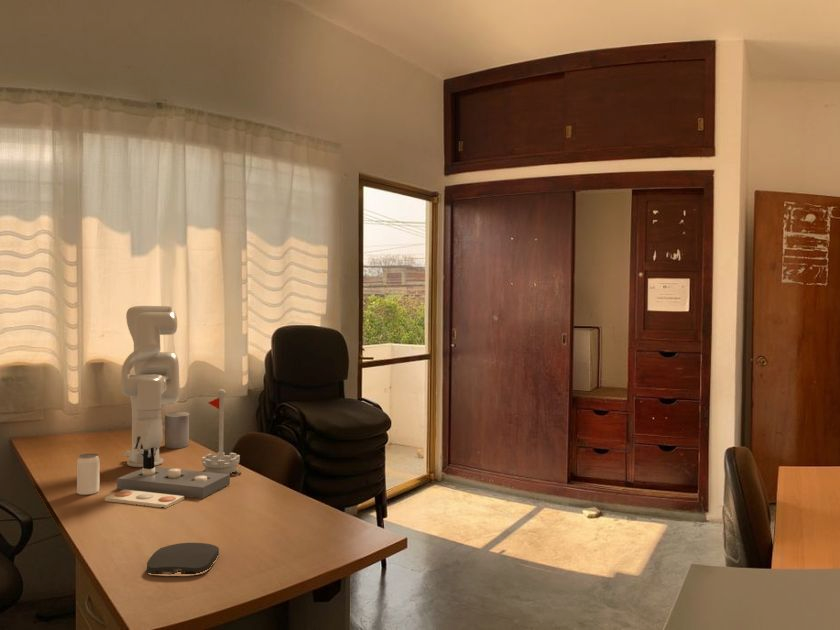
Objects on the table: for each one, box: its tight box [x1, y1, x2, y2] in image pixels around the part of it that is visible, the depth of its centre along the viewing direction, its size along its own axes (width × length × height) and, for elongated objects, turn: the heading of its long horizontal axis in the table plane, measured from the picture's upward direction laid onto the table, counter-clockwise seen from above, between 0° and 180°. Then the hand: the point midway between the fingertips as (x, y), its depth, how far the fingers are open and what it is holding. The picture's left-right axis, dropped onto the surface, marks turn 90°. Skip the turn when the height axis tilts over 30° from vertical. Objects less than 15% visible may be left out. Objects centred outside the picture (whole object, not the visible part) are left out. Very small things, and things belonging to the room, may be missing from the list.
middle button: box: [168, 468, 182, 479], centre depth 219 cm, size 4×4×3 cm
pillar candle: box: [164, 411, 190, 449], centre depth 276 cm, size 10×10×15 cm
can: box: [76, 452, 100, 496], centre depth 211 cm, size 6×6×12 cm
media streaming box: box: [146, 542, 220, 574], centre depth 158 cm, size 15×15×3 cm
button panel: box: [116, 466, 231, 499], centre depth 219 cm, size 32×16×4 cm, turn 75°
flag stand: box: [201, 388, 241, 474], centre depth 239 cm, size 13×13×30 cm
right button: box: [194, 476, 207, 482], centre depth 216 cm, size 4×4×3 cm
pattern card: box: [104, 489, 185, 509], centre depth 205 cm, size 22×9×1 cm, turn 75°
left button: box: [141, 466, 156, 476], centre depth 221 cm, size 4×4×3 cm
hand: (148, 468), depth 221 cm, fingers closed
